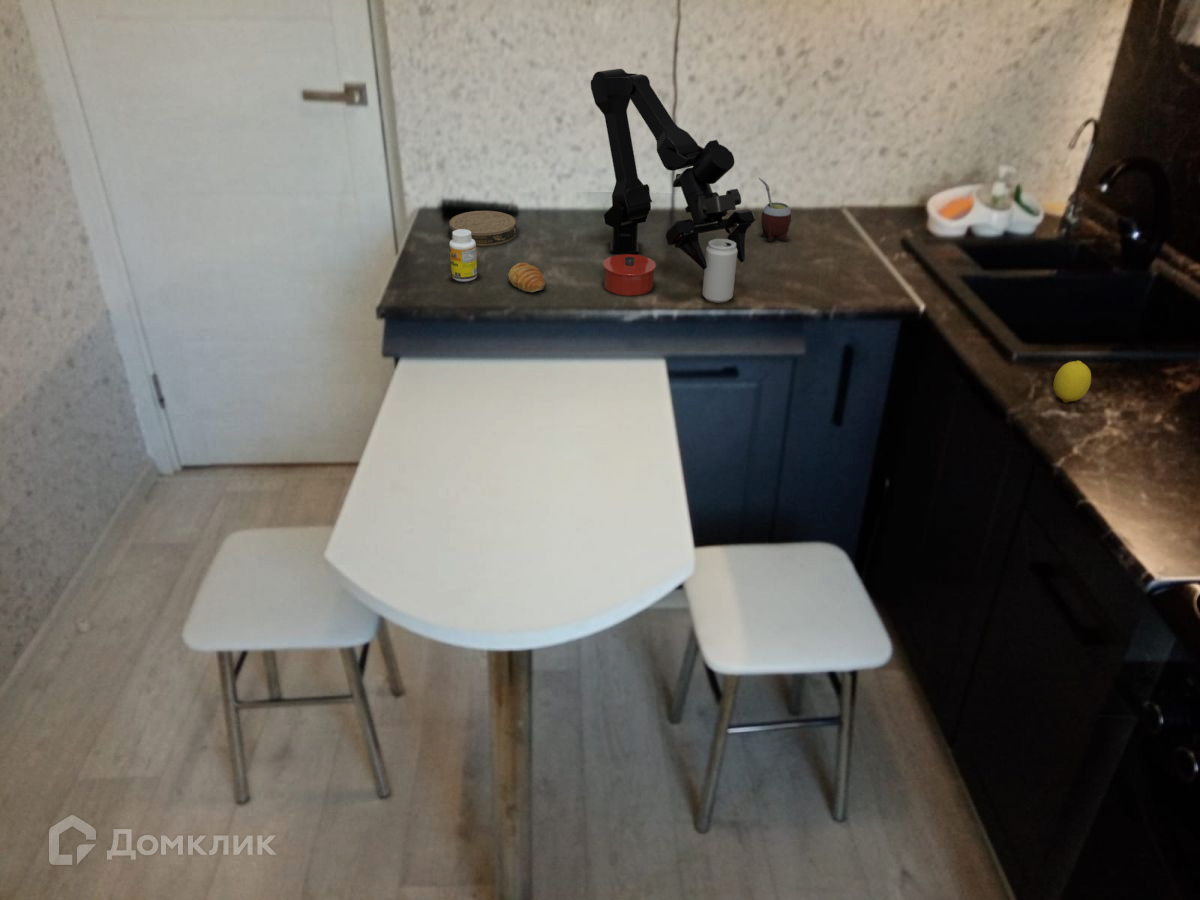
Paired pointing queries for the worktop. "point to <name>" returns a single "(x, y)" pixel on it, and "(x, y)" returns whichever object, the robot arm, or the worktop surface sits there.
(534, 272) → the pastry
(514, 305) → the worktop surface
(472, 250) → the supplement bottle
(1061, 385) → the lemon
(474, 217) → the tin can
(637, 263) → the pot lid
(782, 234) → the mate gourd
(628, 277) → the pot
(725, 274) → the beverage can
